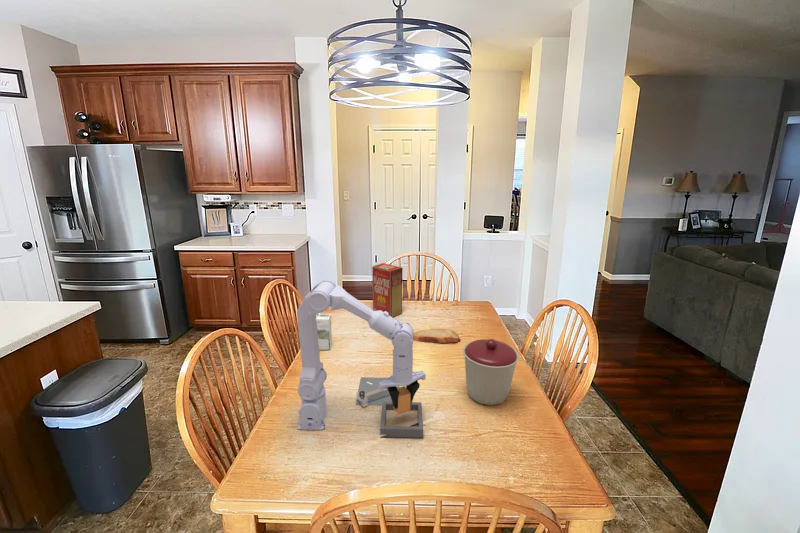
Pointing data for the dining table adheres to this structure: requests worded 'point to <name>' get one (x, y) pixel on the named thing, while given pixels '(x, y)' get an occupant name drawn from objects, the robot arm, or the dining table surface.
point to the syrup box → (324, 331)
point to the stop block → (403, 400)
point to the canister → (489, 370)
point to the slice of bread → (436, 336)
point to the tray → (402, 431)
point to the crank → (371, 396)
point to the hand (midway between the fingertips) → (402, 404)
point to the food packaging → (387, 289)
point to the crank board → (370, 385)
